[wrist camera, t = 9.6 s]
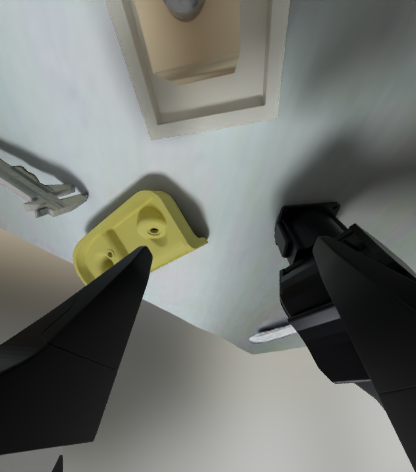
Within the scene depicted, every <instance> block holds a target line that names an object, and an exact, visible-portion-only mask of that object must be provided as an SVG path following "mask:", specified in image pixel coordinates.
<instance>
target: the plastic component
mask: <svg viewBox="0 0 416 472" xmlns="http://www.w3.org/2000/svg"><path fill="white" fill-rule="evenodd" d="M152 228H156V229H158V230H152ZM207 243H208V242H207V240H206V239H205V238H204V237H201V238H198V237H197V236H196V235H195V234H194V233H193V231H192V230H191V228H190V226H189V225H188V223H187V221H186V220H185V218H184V216H183V215H182V213H181V211H180V210H179V208H178V206H177V205H176V203H175V201H174V200H173V198H172V197H171V196H170V195H169V194H167V193H165V192H163V191H151V190H143V191H139V192H137V193H135V194H134V195H133V196H132V197H131V198H129V199H128V200H127V201H126V202H125V203H124V204H122V205H121V206H120V207H119V208H118V209H116V210H115V211H114V212H113V213H112V214H110V215H109V216H108V217H107V218H106V219H104V220H103V221H102V222H101V223H100V224H98V225H97V226H96V227H95V228H94V229H92V230H91V231H90V232H89V233H88V234H87V235H85V236H84V237H83V238H82V239H81V240H80V241H79V242H78V244H77V245H76V247H75V249H74V252H73V262H74V266H75V269H76V272H77V274H78V275H79V277H80V279H81V280H82V282H83V283H84V284H85V286H86V285H88V284H89V283H90V282H92V281H93V280H94V279H96V278H97V277H98V276H100V275H101V274H102V273H104V272H105V271H107V270H108V269H109V268H111V267H112V266H113V265H115V264H116V263H117V262H119V261H120V260H121V259H123V258H124V257H125V256H127V255H128V254H130V253H131V252H132V251H134V250H135V249H136V248H138V247H139V246H147V247H148V248H149V250H150V252H151V253H152V255H153V261H152V265H151V270H150V272H152V271H154V270H156V269H158V268H160V267H162V266H164V265H166V264H168V263H170V262H172V261H174V260H176V259H178V258H180V257H182V256H183V255H185V254H187V253H189V252H191V251H193V250H195V249H197V248H199V247H201V246H203V245H205V244H207Z"/></svg>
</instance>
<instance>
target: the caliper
mask: <svg viewBox="0 0 416 472" xmlns="http://www.w3.org/2000/svg"><path fill="white" fill-rule="evenodd" d="M0 184H2V185H3V186H5V187H6V188H8V189H9V190H11V191H12V192H14V193H16V194H17V195H19V196H20V197H22V198H23V199H25V200H26V201H28V202H27V203H24V209H25V211H35V215H36V218H38V217H41V216H44V215H47V214H49V215H51V216H53V217H55V216H58V215H61V214H64V213H67V212H70V211H72V210H74V209H75V208H77V207H78V206H80V205H81V204H83V203H84V202H86V201H87V196H88V195H87V193H86V192H85V193H82V194H78V195H74V196H71V197H67V198H63V199H59V198H57V197H61V196H64V195H68V194H70V193H73V192H75V186H74V185H72V184H62V185H43V184H42V183H40V182H39V180H38V179H37V177H36V176H35V175H34V174H32V173H30V172H28V171H27V170H26V169H25V168H24V167H22V166H10V165H9V164H7V163H6V162H4V161H3V160H1V159H0Z"/></svg>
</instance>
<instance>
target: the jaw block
mask: <svg viewBox="0 0 416 472" xmlns="http://www.w3.org/2000/svg"><path fill="white" fill-rule="evenodd" d="M134 1H135V5H136V9H137V13H138V16H139V20H140V24H141V28H142V32H143V36H144V39H145V43H146V47H147V51H148V55H149V59H150V62H151V66H152V70H153V73H154V74H156V75H159V76H161V77H163V78H165V79H167V80H169V81H171V82H173V83H175V84H177V85H184V84H188V83H192V82H197V81H201V80H206V79H210V78H215V77H219V76H223V75H228V74H232V73H234V72H235V69H236V65H237V62H238V58H239V54H240V0H134Z"/></svg>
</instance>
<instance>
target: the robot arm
mask: <svg viewBox="0 0 416 472" xmlns="http://www.w3.org/2000/svg"><path fill="white" fill-rule="evenodd" d="M334 206H335V207H334ZM339 208H340V204H338V203H337V202H329V203H317V204H305V205H293V206H284V207H283V208H282V209H281V213H280V219H279V221H278V222H277V224H276V230H275V236H274V237H275V239H276V241H275V243H276V245H278V247H279V250H280V252H281V255H282V257H284V258H287V259H288V262H289V264H290V266H288V267H287V268H285V269H282V270H280V302H281V305H282V307H283V309H284V311H285V313H286V315H287V316H288V317H289V318H288V322H289V323H290V324H291V325H292V326H293V327H294V329H295V330H296V331H297V332H298V334H299V335H300V336H301V338H302V339H303V341H304V342H305V344H306V346H307V347H308V349H309V351H310V353H311V355H312V357H313V359H314V360H315V362H316V364H317V366H318V368H319V369H320V370H321V371H322V372H323V373H324V374H325V375H326V376H327V377H328V378H329V379H330V380H331V381H332V382H333V383H335V384H341V383H355V384H356V385H358V386H359V387H360V388H362V389H363V390H364V391H366V392H367V393H368V394H370V395H371V396H372V397H374V398H375V399H376V400H377V401H378V402H379V403H380V405H381V406H382V407H383V408H384V410H385V411H386V413H387V415H388V417H389V419H390V421H391V423H392V425H393V427H394V429H395V431H396V433H397V435H398V438H399V440H400V442H401V444H402V446H403V448H404V450H405V452H406V454H407V456H408V458H409V460H410V462H411V464H412V466H413V468H414V470H415V472H416V273H415V272H414V271H413V270H412V269H411V268H410V267H409V266H408V265H407V264H406V263H404V262H403V261H402V260H401V259H400V258H399V257H397V256H396V255H395V254H394V253H393V252H391V251H390V250H389V249H388V248H387V247H386V246H384V245H383V244H382V243H381V242H379V241H378V240H377V239H375V238H374V237H373V236H371V235H370V234H369V233H367V232H366V231H365V230H363V229H362V228H361V227H360V226H358V225H357V224H356V223H355V224H353V225H351V226H350V227H349V229H347V228H346V227H345V226H344V225H343V224H342V223H341V222H340V221H339V220H338V219H337V218H336V217H335V216H336V214H337V212H338V210H339ZM286 209H287V211H285V210H286ZM152 261H153V255H152V253H151V252H150V250H149V248H148V247H147V246H139V247H138V248H136V249H135V250H134V251H132V252H131V253H130V254H128V255H127V256H125V257H124V258H123V259H121V260H120V261H119V262H117V263H116V264H115V265H113V266H112V267H111V268H109V269H108V270H107V271H105V272H104V273H102V274H101V275H100V276H98V277H97V278H96V279H94V280H93V281H92V282H90V283H89V284H88V285H86V286H85V287H84V288H83V289H81V290H79V291H78V292H77V293H75V294H74V295H73V296H71V297H70V298H69V299H68V300H66V301H65V302H63V303H62V304H60V305H59V306H58V307H56V308H55V309H53V310H52V311H50V312H49V313H47V314H46V315H44V316H43V317H42V318H40V319H39V320H37V321H36V322H34V323H33V324H31V325H30V326H28V327H27V328H25V329H24V330H22V331H21V332H19V333H18V334H16V335H15V336H13V337H12V338H10V339H9V340H7V341H6V342H4V343H3V344H1V345H0V472H63V456H62V455H60V453H61V451H62V449H63V447H64V446H66V445H74V444H81V443H88V442H92V441H94V438H95V436H96V433H97V431H98V428H99V425H100V422H101V419H102V416H103V412H104V410H105V407H106V404H107V401H108V398H109V395H110V392H111V389H112V386H113V383H114V380H115V377H116V375H117V370H118V368H119V365H120V362H121V359H122V356H123V353H124V351H125V348H126V345H127V342H128V339H129V336H130V333H131V330H132V327H133V324H134V321H135V318H136V315H137V312H138V309H139V306H140V303H141V300H142V298H143V295H144V292H145V289H146V286H147V282H148V279H149V274H150V270H151V265H152Z"/></svg>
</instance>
